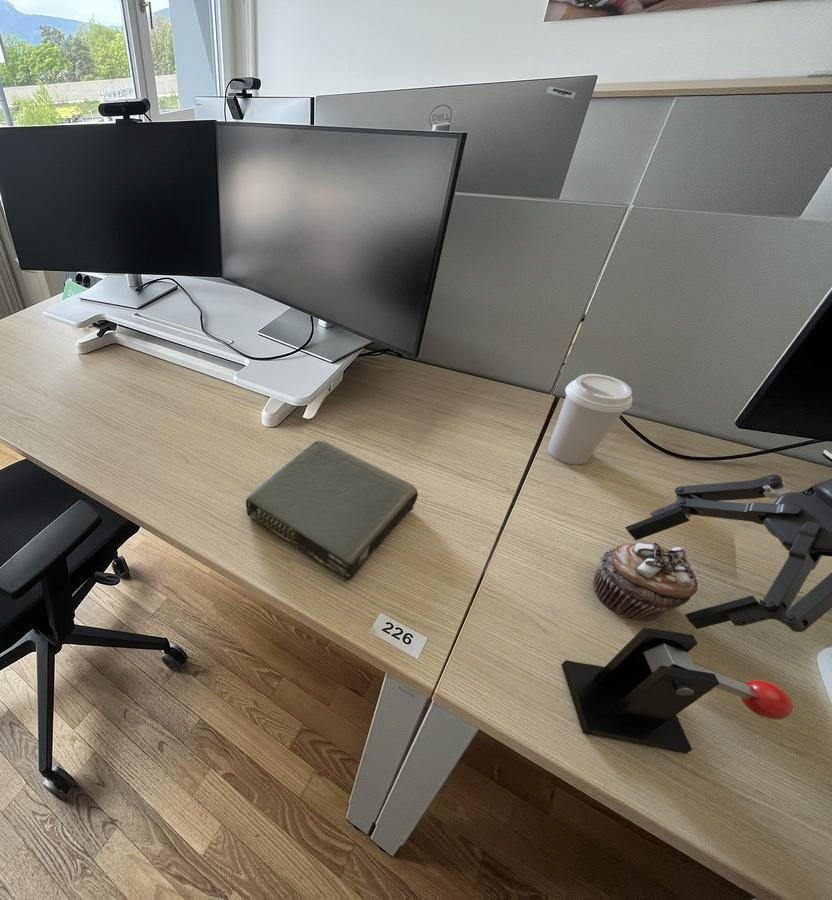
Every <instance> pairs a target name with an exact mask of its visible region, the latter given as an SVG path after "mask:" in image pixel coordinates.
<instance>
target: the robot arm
mask: <svg viewBox="0 0 832 900" xmlns="http://www.w3.org/2000/svg"><path fill="white" fill-rule="evenodd" d="M673 492H674V494H675V496H676V500H675V502H673V503H671V504H668V505H666V506H662V507H661V508H658V509H656V510H653V511H652V512H650V513H649V515H650V517H648V518H644V519H643V520H640V521H638V522H634V523H633V524H628V525H627V526H625V527H624V528H625V530H626V531H627V532H628V534H630V536H631V537H632V538H633V539H634V541H639V540H642V539H644V538H646V537H650V536H652V535H655V534H657V533H661V532H663V531H666V530H668V529H669V530H670V529H672V528H674V527H677V526H679V525H680V526H681V525H682V524H685V523H688V522H690V521H691V520H690V519H689V518H691V516H695V517H696V516H697V517H705V518H715V519H724V520H733V521H734V520H735V521H742V522H750V523H751V522H752V523H754V524H757V525H763V526H764V527H765V528H766V530H767V531H768V532H769V533H770V534H771V535H772V536H773V537H775V538H777V539H778V540H779V542H780V544H781V545H782V547H783V548H785V550H786V551H788V556H787V559H786V560H785V561H784V564H783V565H782V567H781V569H780V570H779V572H778V574H777V575H776V577H775V579H774V581H773V583H772V584H771V586H770V587H769V588H768V590H767V593H766V594H765V595H764V598H763V599H761V598H759V601H758V599H756V597H755V596H754V595H749V596H746V597H742V598H739V599H734V600H731V601H727V602H723V603H720V604H715V605H713V606H709V607H705V608H702V609H698V610H694V611H691V612H687V613H684V616H685V618H686V620H687V621H689V623H690V624H691V625H692V626H693V627H694V628H695V629H696V630H699V629H704V628H708V627H711V626H715V625H719V624H722V623H727V622H731V623H732V624H733V625H734V626H735V627H744V626H748V625H753V624H757V623H761V622H765V621H768V620H769V621H770V620H775V621H777V622H780V623H782V624H783V625H785V626H786V627H788V628H789V629H790V630H791V631H792V632H796V633H803V632H805V631H806V630H808V629H809V628H810V627H811V626H812V625H813V624H815V623H816V622H817V621H818V620H820V618H822V617H823V616H824V615H825V614H827V612H829V611H830V610H831V609H832V571H831V572H830V573H828V575H826V576H825V577H824V578H823V579H822V580H821V581H820V582H818V583H817V584H816V585H815V586H814V587H812V589H810V590H809V591H807V593H806V594H804V595H803V596H802V597H801V598H799V600H797V601H796V602H794V600H795V599H796V597H797V595H798V594H799V592H800V590H801V589H802V587H803V586H804V584H805V582H806V580H807V578H808V577H809V575H810V574H811V571H813V570H815V568H816V567H817V566H818V565H819V564H818V563H820V560H821V558H822V557H831V558H832V478H829V479H827V480H824V481H820V482H818V483H815V484H813V485H812V486H810V487H808V488H807V489H805V490H801V491H795V492H791V491H790V489H789V488H788V487H787V485H786V484H785V481H784V480H783V478H782V476H781V475H779V474H775V473H773V474H769V475H765V476H761V477H758V478H755V479H751V480H740V481H728V482H716V483H715V482H714V483H704V484H694V485H693V484H692V485H691V484H690V485H682V486H681V485H680V486H677V487H675V488H674V490H673ZM763 498H769V499H772V500H773V499H776V500H775V501H774V503H767V502H758V501H757V502H756V501H751V502H749V503H745V502H733V501H739V500H753V499H754V500H755V499H763ZM793 602H794V604H793ZM792 604H793V605H792Z"/></svg>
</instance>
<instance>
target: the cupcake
mask: <svg viewBox="0 0 832 900" xmlns="http://www.w3.org/2000/svg"><path fill="white" fill-rule="evenodd" d="M687 558H688V555H687V550H686V548H684V547H681V546H675V547H672V548H671V549H668V548H666V547H663V546H660V545H659V543H657V542H653V543H652V544H651V543H641V542H637V543H636V542H635V543H629V542H628V543H624V544H619V545H617V546H616V547H612V549H611V548H609V549H608V550H605V551H604V553H602V554H601V556H600V558H599V562H598V565H597V569H596V571H595V575H594V578H593V580H592V589H593V593H595V594H596V597H597V598H598V600H599V601H600V602H601V604H603V605H604V606H605V607H606V608H607V609H608V610H611V611H612V612H614V613H615V614H617V615H619V616H622V617H623V618H625V619H633V620H637V621H641V622H642V621H643V622H645V621H646V622H647V621H652V620H655V619H657V618H660V617H661V616H663V615H665V614H667V613H669V612H671V611H673V610H675V609H677V608H679V607H681V606H682V605H685V604H686V603H687V602H688V601H690V600H691V597H692V596H694V595H695V594H696V593H697V592H698V587H699V586H698V585H699V584H698V580H697V577H696V574H695V573H694V570H693V569H692V566H691V564H690V562H689V561H688V559H687Z"/></svg>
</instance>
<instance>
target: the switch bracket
mask: <svg viewBox="0 0 832 900" xmlns="http://www.w3.org/2000/svg"><path fill="white" fill-rule="evenodd" d="M663 643H664V644H667V645H670V646H672V647H675V648H677V649H680V650H682V651H685V652H688V653H689V652H690V651H692V650H693V649H694V648H696V646H697V645H698V644H699V643H698V641H697V639H696V638H695V635H694V634H690V633H683V632H678V631H677V632H676V631H671V630H664V629H658V628H657V629H656V628H651V627H643V628H641V630H640V631H638V633H636V634H635V636H634V637H632V639H631V640H629V642H628V643H627V644H626V645H625V646H624V647H623V648H622V649H621V650H619V652H618V653H617V654H616V655H615V656H614V657H613V658H612V659H610V660H609V662H608V663H607V664H606V665H605V666H602V665H597V664H589V663H585V662H578V661H572V660H564V661H563V662H562V663H561V667H562V670H563V674H564V677H565V680H566V684H567V687H568V689H569V693H570V696H571V700H572V703H573V706H574V710H575V712H576V716H577V719H578V722H579V725H580V728H581V732H582V734H585V735H590V736H594V737H599V738H605V739H609V740H616V741H620V742H625V743H630V744H635V745H641V746H645V747H650V748H656V749H661V750H664V751H665V750H666V751H671V752H676V753H681V754H689V753H691V752H692V751H693V748H692V746H691V743H690V742H689V739H688V737H687V735H686V733H685V730H684V728H683V726H682V724H681V722H680V720H679V717H678V714H680V713H681V712H683V710H685V709H686V708H688V707H690V706H691V705H692V704H694V703H695V702H696V701H698V700H699V699H700V698H702V697H703V696H705V695H706V694H708V693H709V692H710V691H712V690H714V689H715V688H716V686H717V685H719V684H720V683H719V681H718V679H717V678H716V676H715V674H713V673H707V672H701V671H695V670H689V669H683V668H677V667H671V666H665V665H661V666H660V667H659V668H657V669H656V670H655V671H654V672H652V670H651V668H650V666H649V664H648V662H647V659H646V657H645V655H644V653H643V652H645V651H647V650H649V649H652V648H654V647H656V646H659V645H661V644H663Z"/></svg>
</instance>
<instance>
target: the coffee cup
mask: <svg viewBox="0 0 832 900" xmlns="http://www.w3.org/2000/svg"><path fill="white" fill-rule="evenodd" d="M564 389H565V390H564V391H565V398H564V402H563V404H562V407H561V409H560V413H559V415H558V418H557V421H556V424H555V427H554V430H553V432H552V435H551V438H550V441H549V444H548V446H547V451H548V453H549V455H550V456H551V457H552V458H554V459H556V460H557V461H559V462H561V463H564V464H568V465H583V464H584V463H586V462H587V461H588V460H589V459H590V457H591V456H592V455H593V453H594V452H595V451H596V449H598V446H599V445H600V444H601V442H602V441H603V440H604V438H605V437H606V436H607V434H608V433H609V431H611V429H612V427H613V426H614V425H615V423H616V422H617V421H618V419H619V418H620V417H621V416H622V414H623V413H624V412H625V411H628V410H629V409H631V407H632V405H633V395H632V394H633V393H632V388H631V387H630V385H628V384H627V383H626V382H624V381H623V380H621V379H618V378H616V377H613V376H610V375H605V374H600V373H598V374H597V373H585V374H581V375H579V376H578V377H576V378H575V379H573V380H571V382H569V383H568V384H567V385H566V387H565V388H564Z"/></svg>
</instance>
